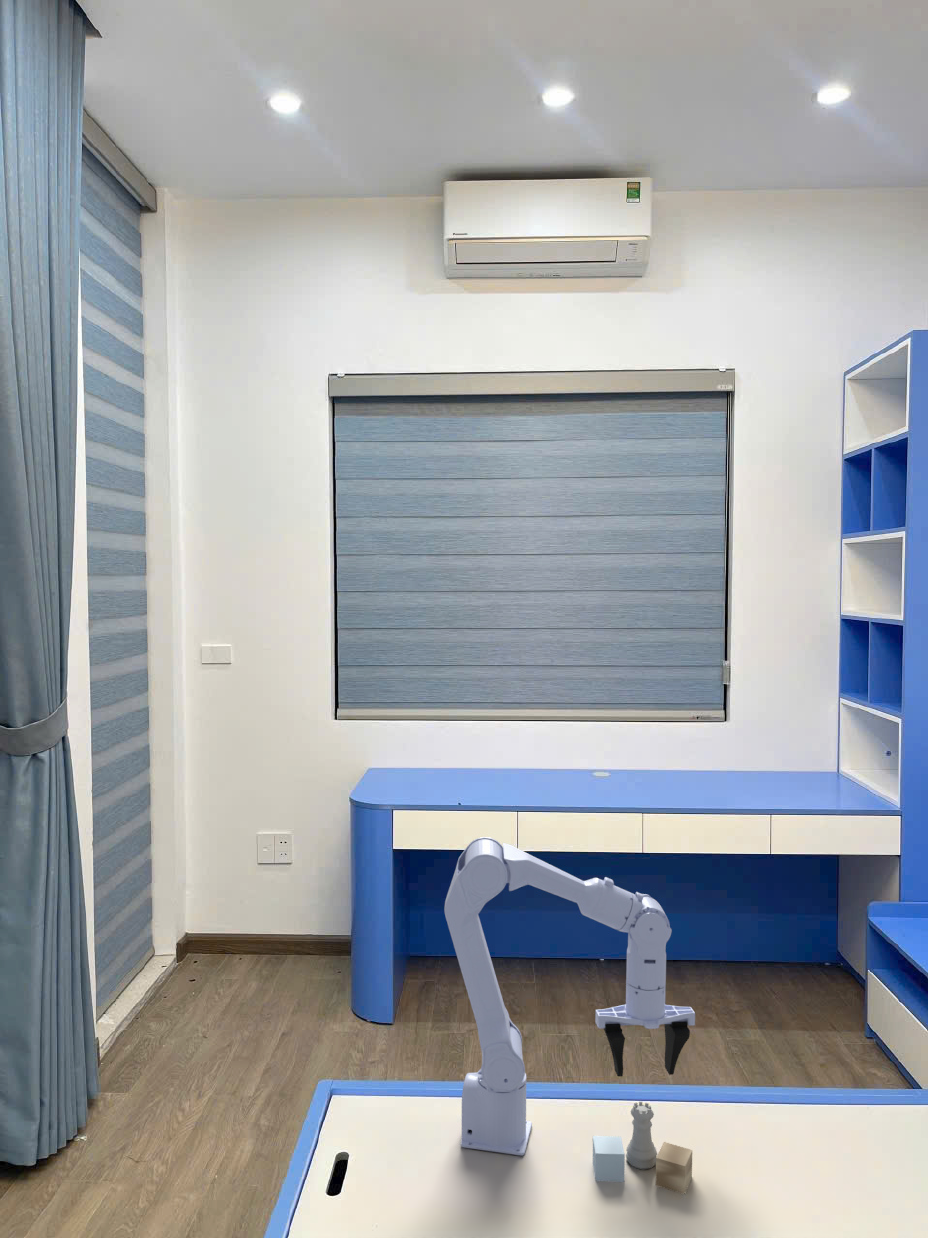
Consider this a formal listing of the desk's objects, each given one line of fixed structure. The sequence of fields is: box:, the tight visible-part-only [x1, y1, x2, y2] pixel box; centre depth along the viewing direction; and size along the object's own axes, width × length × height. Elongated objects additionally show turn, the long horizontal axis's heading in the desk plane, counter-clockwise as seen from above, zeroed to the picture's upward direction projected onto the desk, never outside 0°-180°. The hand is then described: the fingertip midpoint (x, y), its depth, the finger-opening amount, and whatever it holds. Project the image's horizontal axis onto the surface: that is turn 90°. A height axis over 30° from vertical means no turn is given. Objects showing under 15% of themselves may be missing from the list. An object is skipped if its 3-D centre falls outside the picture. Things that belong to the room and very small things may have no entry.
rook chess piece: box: [625, 1101, 658, 1170], centre depth 131 cm, size 4×4×8 cm
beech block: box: [655, 1141, 693, 1195], centre depth 127 cm, size 4×4×4 cm
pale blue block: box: [592, 1135, 626, 1183], centre depth 129 cm, size 4×4×4 cm
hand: (643, 1072), depth 136 cm, fingers open, 7 cm apart
